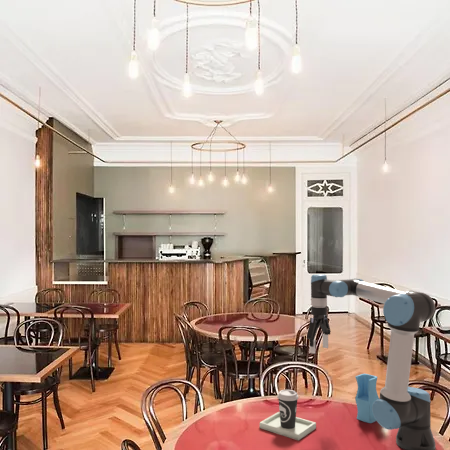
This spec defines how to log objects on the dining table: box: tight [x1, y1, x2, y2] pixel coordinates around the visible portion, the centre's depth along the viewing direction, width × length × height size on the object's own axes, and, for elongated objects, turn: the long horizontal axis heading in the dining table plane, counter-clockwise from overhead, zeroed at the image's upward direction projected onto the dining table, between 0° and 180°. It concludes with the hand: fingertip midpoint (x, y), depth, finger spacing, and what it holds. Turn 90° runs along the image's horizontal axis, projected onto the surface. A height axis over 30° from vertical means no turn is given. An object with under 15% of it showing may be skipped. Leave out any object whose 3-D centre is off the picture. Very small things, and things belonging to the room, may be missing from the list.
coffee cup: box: [276, 389, 300, 429], centre depth 204 cm, size 10×10×15 cm
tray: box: [259, 411, 317, 441], centre depth 204 cm, size 20×16×2 cm
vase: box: [354, 373, 380, 424], centre depth 215 cm, size 8×8×20 cm
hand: (319, 350), depth 218 cm, fingers open, 13 cm apart
